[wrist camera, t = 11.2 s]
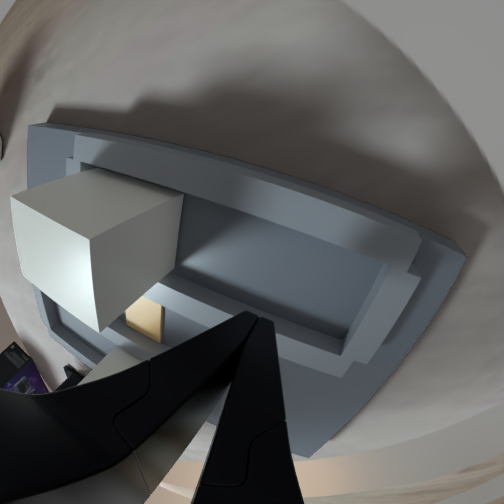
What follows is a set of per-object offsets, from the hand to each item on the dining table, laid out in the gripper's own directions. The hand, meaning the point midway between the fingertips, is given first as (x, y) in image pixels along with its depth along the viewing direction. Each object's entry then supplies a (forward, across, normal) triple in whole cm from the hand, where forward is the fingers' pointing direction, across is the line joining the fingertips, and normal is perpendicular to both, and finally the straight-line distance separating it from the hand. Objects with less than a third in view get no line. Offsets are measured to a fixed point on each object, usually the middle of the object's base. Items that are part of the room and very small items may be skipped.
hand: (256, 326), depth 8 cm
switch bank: (+5, +6, +5) cm, 9 cm away
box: (+5, +35, +41) cm, 54 cm away
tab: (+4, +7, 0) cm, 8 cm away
